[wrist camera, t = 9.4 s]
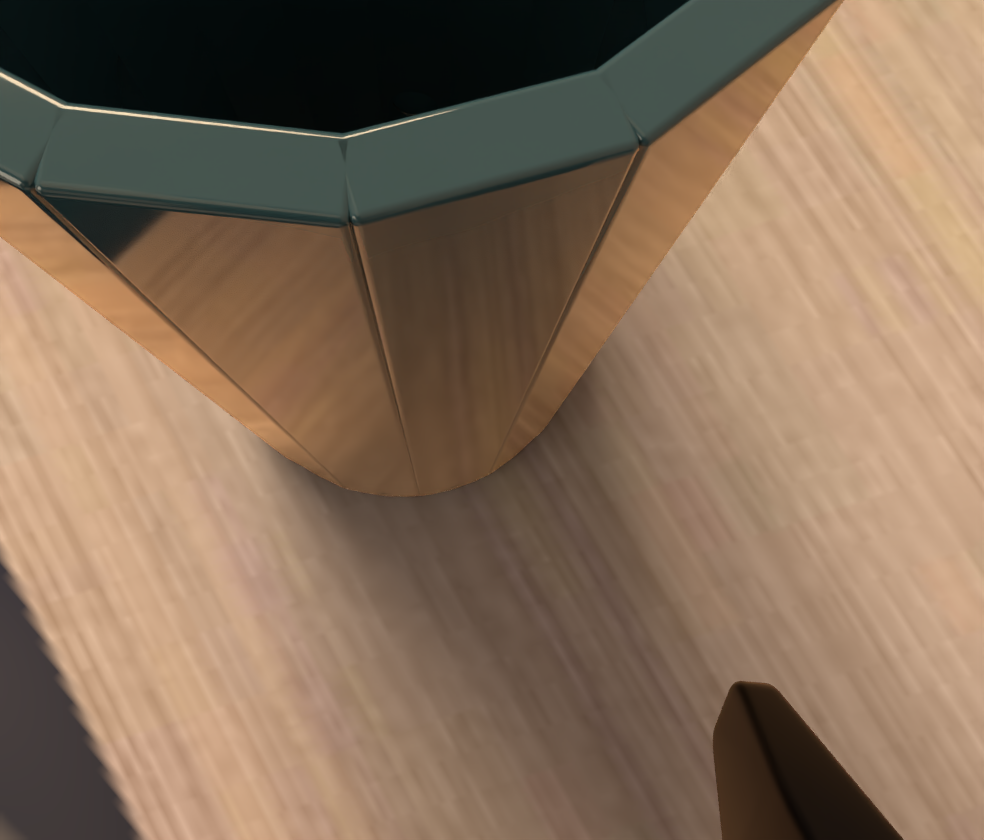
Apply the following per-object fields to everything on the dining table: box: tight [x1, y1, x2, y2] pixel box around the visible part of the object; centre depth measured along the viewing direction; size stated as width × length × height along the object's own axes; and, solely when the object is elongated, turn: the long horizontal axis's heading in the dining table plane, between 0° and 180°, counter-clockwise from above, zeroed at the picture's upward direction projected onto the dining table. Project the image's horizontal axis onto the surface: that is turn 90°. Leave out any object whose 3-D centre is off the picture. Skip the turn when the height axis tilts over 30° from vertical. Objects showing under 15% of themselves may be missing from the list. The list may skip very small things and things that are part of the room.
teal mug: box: [0, 0, 844, 497], centre depth 11 cm, size 10×7×13 cm, turn 175°
